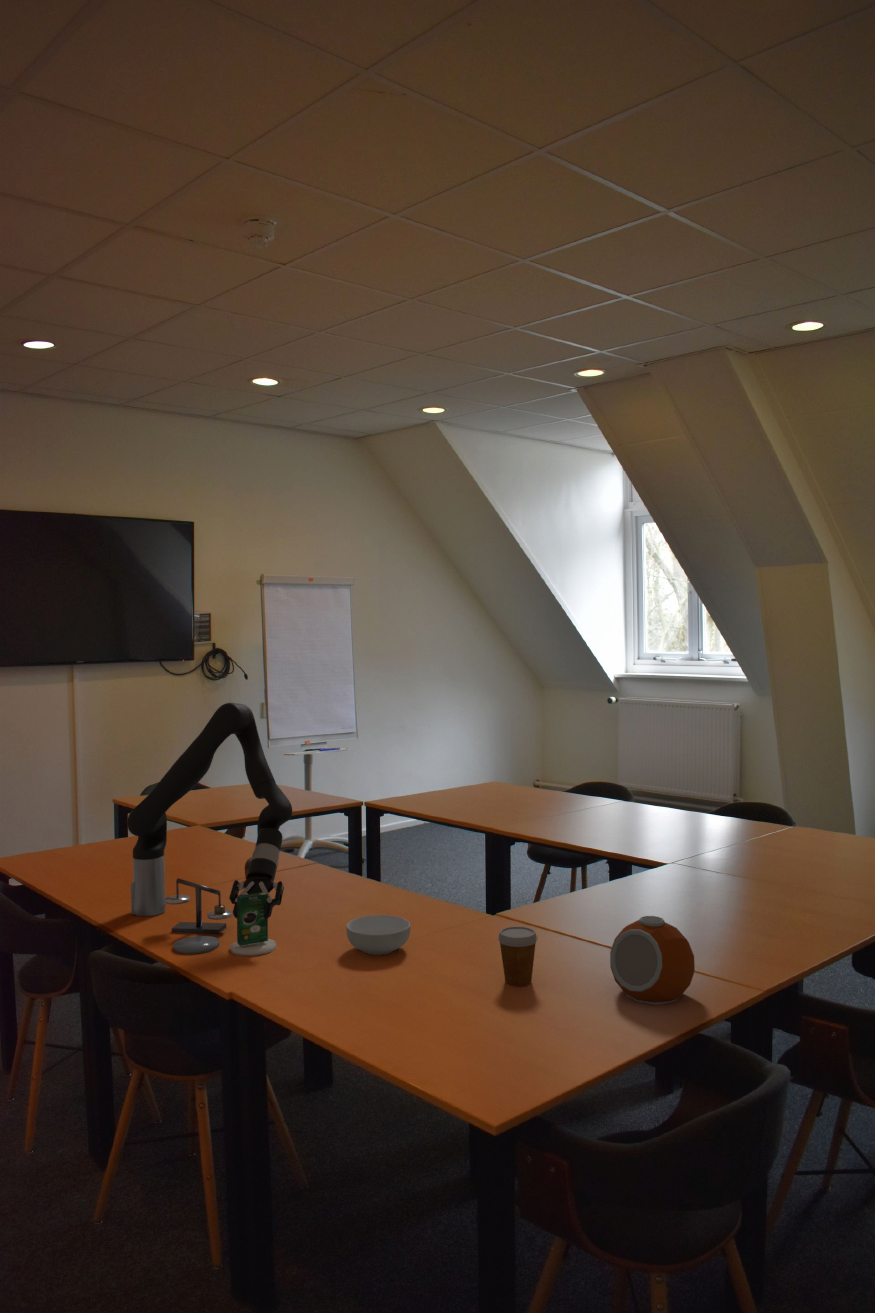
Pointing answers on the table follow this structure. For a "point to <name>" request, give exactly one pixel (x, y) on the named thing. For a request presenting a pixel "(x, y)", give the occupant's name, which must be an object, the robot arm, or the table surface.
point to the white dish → (253, 948)
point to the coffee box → (251, 918)
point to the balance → (199, 911)
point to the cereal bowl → (378, 933)
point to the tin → (247, 867)
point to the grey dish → (196, 945)
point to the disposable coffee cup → (517, 954)
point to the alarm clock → (652, 961)
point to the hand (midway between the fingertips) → (250, 917)
